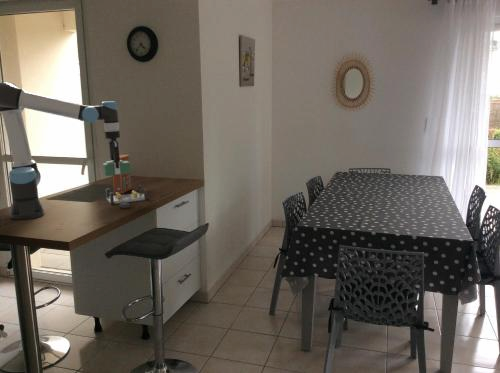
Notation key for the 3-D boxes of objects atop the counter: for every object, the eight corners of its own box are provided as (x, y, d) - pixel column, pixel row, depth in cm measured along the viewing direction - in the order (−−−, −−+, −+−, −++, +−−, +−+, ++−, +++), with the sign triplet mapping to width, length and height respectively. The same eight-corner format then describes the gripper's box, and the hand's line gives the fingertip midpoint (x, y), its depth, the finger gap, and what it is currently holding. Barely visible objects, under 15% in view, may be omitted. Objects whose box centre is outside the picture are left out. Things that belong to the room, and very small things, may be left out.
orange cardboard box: (133, 188, 287) (122, 193, 272) (123, 188, 288) (111, 193, 274) (131, 154, 282) (119, 158, 268) (120, 154, 284) (108, 158, 269)
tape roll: (121, 209, 238) (120, 205, 237) (119, 207, 242) (118, 203, 242) (130, 208, 240) (130, 204, 239) (128, 206, 244) (128, 202, 244)
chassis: (111, 204, 248) (110, 193, 246) (106, 199, 259) (105, 189, 258) (147, 199, 257) (147, 189, 256) (141, 195, 268) (140, 185, 267)
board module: (106, 176, 244) (104, 163, 243) (104, 174, 250) (102, 161, 249) (130, 173, 250) (129, 160, 248) (128, 171, 256) (126, 158, 254)
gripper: (123, 131, 238) (127, 174, 243) (115, 128, 255) (119, 169, 260) (108, 132, 235) (112, 176, 240) (101, 129, 252) (106, 171, 257)
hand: (116, 172), depth 250 cm, fingers closed on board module, 7 cm apart
